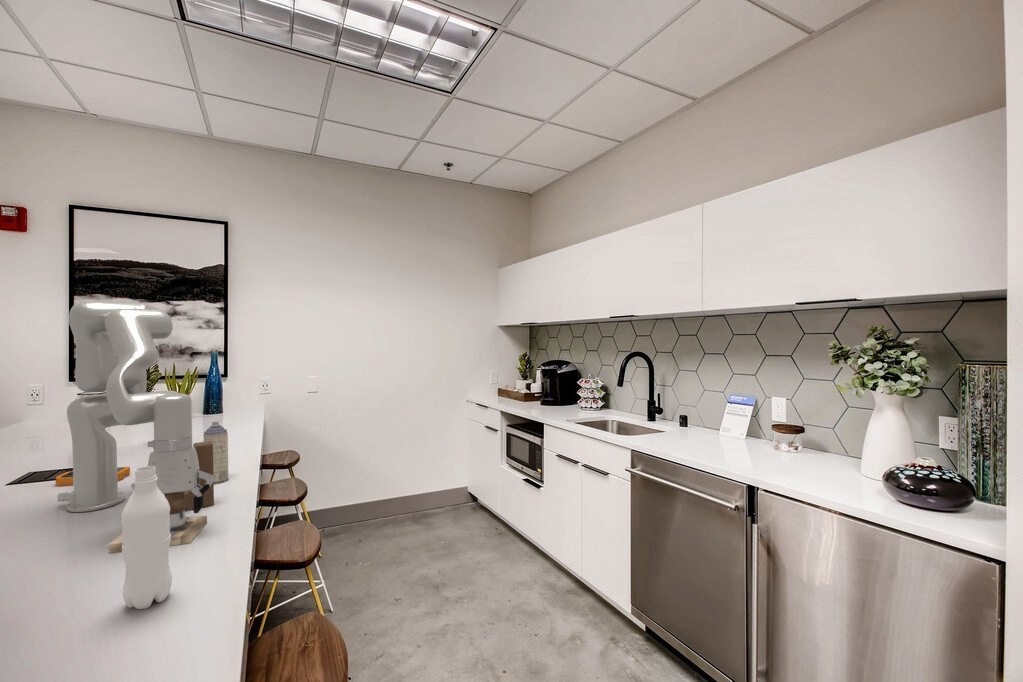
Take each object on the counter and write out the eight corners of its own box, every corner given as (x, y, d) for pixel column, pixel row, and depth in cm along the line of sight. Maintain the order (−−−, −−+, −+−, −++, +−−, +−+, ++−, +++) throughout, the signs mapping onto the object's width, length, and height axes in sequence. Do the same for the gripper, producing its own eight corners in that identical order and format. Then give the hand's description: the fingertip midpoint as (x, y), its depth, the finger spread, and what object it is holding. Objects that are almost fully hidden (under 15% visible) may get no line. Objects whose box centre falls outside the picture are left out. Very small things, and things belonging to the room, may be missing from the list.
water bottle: (141, 591, 89) (138, 463, 89) (180, 589, 90) (178, 462, 89) (112, 614, 82) (109, 475, 82) (155, 612, 83) (152, 474, 82)
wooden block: (175, 513, 128) (174, 448, 127) (175, 508, 131) (173, 445, 131) (214, 505, 133) (213, 443, 133) (212, 501, 137) (211, 440, 136)
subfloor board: (108, 553, 105) (108, 543, 105) (133, 531, 116) (133, 522, 116) (190, 543, 110) (190, 534, 110) (207, 523, 121) (206, 514, 121)
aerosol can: (232, 477, 159) (230, 419, 158) (222, 483, 152) (221, 423, 152) (210, 478, 158) (209, 420, 157) (200, 485, 151) (199, 424, 151)
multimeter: (68, 480, 157) (67, 470, 157) (131, 475, 163) (131, 465, 163) (52, 488, 149) (51, 477, 149) (119, 482, 155) (119, 472, 155)
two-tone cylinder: (162, 540, 111) (161, 490, 111) (169, 533, 115) (168, 485, 115) (181, 537, 113) (180, 489, 112) (187, 531, 116) (186, 483, 116)
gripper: (123, 451, 107) (125, 524, 108) (209, 445, 112) (210, 515, 113) (138, 443, 114) (140, 512, 115) (218, 438, 120) (219, 504, 120)
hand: (175, 513), depth 114 cm, fingers open, 9 cm apart
